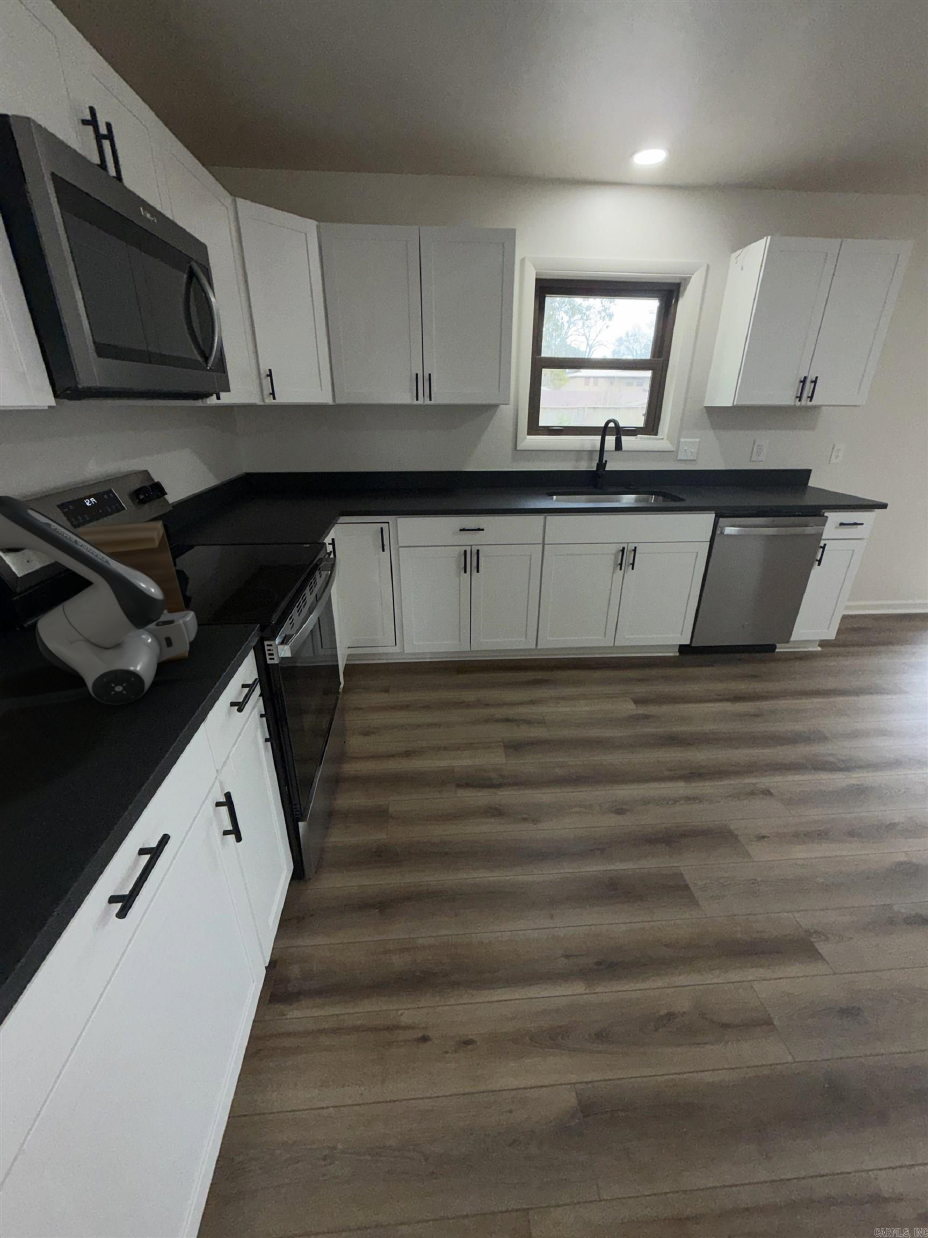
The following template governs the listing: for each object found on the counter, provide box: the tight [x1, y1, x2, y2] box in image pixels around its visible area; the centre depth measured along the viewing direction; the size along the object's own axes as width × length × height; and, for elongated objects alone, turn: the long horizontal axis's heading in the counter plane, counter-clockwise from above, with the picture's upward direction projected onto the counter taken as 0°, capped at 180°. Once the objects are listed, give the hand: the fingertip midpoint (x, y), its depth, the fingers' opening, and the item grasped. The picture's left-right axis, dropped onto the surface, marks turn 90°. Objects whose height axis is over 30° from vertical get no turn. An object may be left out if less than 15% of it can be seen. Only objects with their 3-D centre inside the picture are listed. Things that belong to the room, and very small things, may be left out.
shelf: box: [75, 519, 189, 664], centre depth 100 cm, size 14×14×27 cm
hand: (143, 616), depth 103 cm, fingers open, 6 cm apart
